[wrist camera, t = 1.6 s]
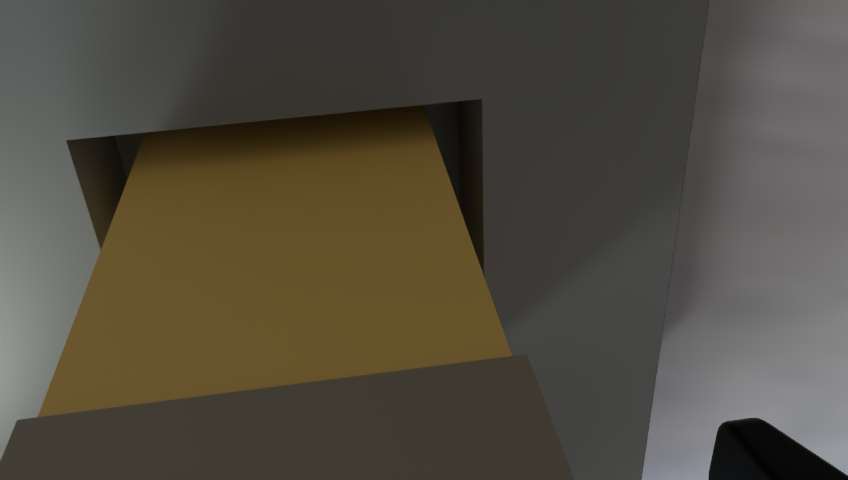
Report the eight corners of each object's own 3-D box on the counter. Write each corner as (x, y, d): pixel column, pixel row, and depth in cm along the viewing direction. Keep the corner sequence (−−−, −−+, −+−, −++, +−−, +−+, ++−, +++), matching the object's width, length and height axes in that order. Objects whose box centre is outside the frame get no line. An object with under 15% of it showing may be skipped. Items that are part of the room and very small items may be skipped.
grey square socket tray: (63, 471, 16) (28, 582, 14) (-189, -128, 10) (-316, -94, 8) (597, 399, 17) (639, 492, 15) (650, -186, 11) (733, -169, 9)
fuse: (199, 333, 14) (112, 875, 7) (142, 110, 12) (-56, 599, 5) (435, 303, 14) (558, 795, 8) (424, 83, 12) (584, 504, 5)
